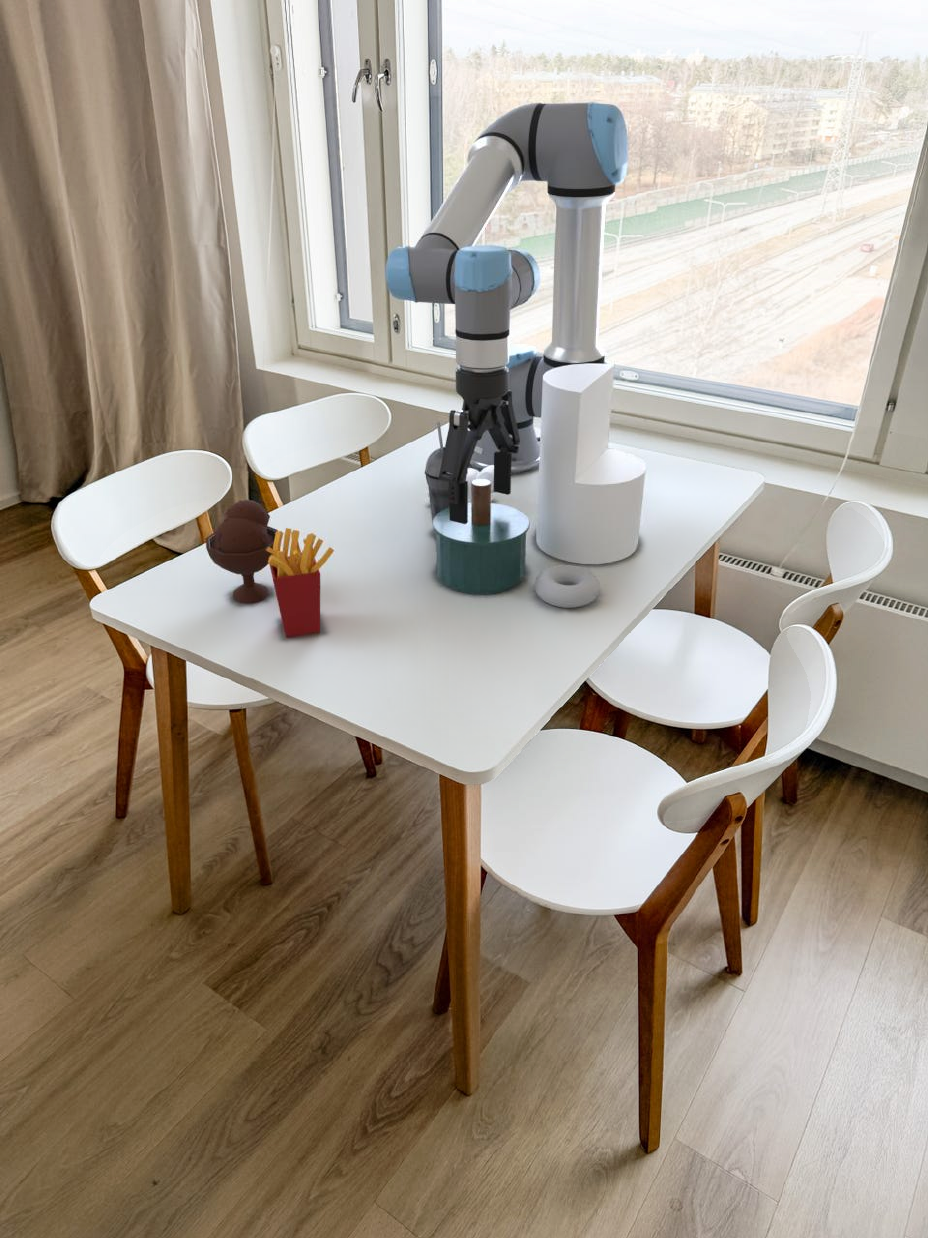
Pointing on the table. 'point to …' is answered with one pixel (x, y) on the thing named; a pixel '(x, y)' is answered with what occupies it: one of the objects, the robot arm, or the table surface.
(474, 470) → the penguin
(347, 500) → the table surface
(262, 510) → the ice cream bowl
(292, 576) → the french fries
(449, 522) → the tin lid
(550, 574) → the donut
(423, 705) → the table surface
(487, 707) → the table surface
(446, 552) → the tin
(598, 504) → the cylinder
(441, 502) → the beverage cup
